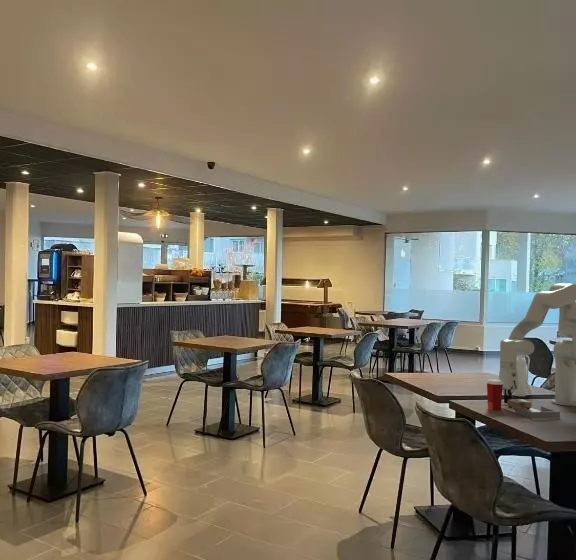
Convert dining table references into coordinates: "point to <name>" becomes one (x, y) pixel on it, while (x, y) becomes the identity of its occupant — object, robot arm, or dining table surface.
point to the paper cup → (494, 394)
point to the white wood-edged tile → (519, 403)
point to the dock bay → (535, 412)
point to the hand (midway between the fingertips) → (507, 403)
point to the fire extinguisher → (522, 377)
